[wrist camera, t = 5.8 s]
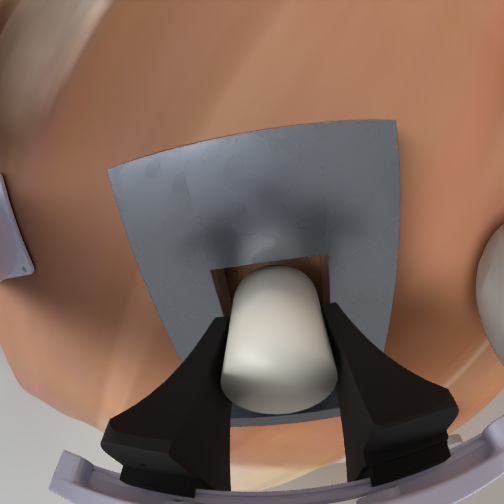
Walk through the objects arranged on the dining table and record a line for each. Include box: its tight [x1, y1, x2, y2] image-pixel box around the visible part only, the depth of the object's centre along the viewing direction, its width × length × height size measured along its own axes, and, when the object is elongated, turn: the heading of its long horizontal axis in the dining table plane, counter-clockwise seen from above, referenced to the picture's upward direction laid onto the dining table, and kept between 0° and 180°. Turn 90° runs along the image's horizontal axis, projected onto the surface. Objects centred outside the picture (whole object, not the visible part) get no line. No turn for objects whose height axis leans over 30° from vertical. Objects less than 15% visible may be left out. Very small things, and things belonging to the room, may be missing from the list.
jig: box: [107, 119, 400, 427], centre depth 13 cm, size 12×16×4 cm
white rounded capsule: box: [221, 265, 338, 414], centre depth 11 cm, size 4×4×5 cm
